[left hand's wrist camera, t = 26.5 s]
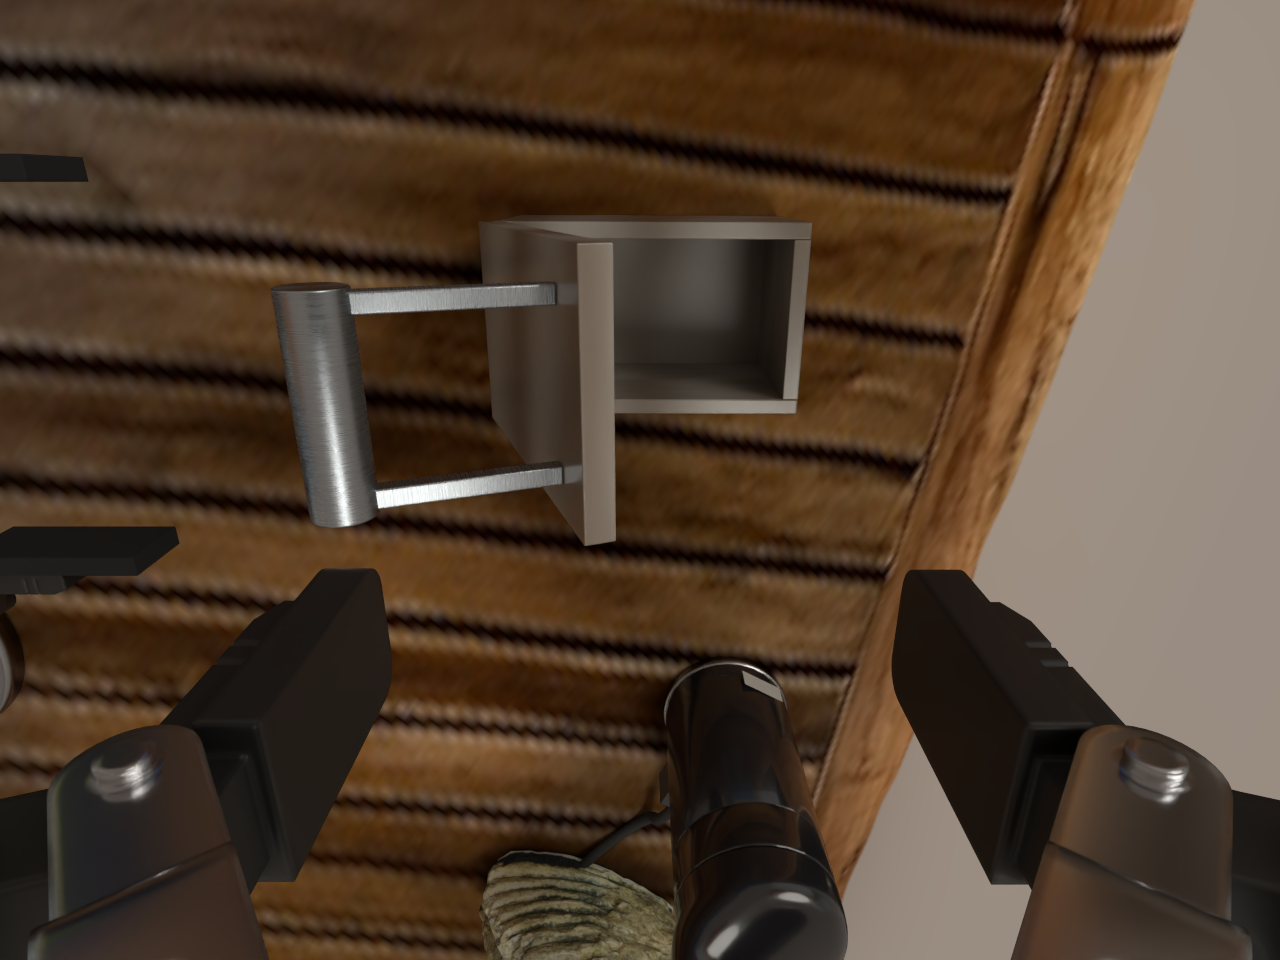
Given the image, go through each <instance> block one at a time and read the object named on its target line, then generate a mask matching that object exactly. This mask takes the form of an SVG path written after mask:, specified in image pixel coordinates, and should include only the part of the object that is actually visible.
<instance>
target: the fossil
mask: <svg viewBox="0 0 1280 960" xmlns="http://www.w3.org/2000/svg"><path fill="white" fill-rule="evenodd" d="M581 860H582V859H580V858H577V857H574V856H570V855H566V854H559V853H550V852H534V851H510V852H509V853H507V854H506V855H504V856H503V857H501V858H499V859H498V861H497V862H496V863H495V864H494V865H493V866H492V868H491V870H490V871H489V873H488V879H487V885H486V888H485V891H484V893H483V898H482V904H481V907H480V910H479V916H480V918H481V920H482V934H483V936H484V948H485V950H486V952H487V956H488V960H671V948H672V938H673V933H674V929H675V917H674V916H673V914H672V911H673V908H672V907H671V906H670V905H669V904H668V903H667V902H666V901H665V900H664V899H663V898H660V897H658V896H656V895H654V894H653V893H651V892H650V891H648V890H647V889H646V888H644V887H642V886H640V885H638V884H636V883H634V882H633V881H631V880H630V879H626V878H622V877H621V876H619V875H618V874H616V873H615V872H613V871H611V870H609V869H606V868H604V867H601V866H599V865H596V864H594V863H592V864H591V865H590V866H589V867H588V868H585V869H584V868H581V867H580V861H581Z"/></svg>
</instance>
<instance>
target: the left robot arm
mask: <svg viewBox="0 0 1280 960" xmlns="http://www.w3.org/2000/svg"><path fill="white" fill-rule="evenodd" d="M391 676H392V654H391V647H390V640H389V633H388V626H387V619H386V612H385V605H384V598H383V591H382V585H381V580H380V577H379V574H378V573H377V571H376V570H375V569H322V570H320V571H319V572H318V573H317V575H316V576H315V577H314V578H313V579H312V581H311V582H310V583H309V584H308V585H307V587H306V588H305V589H304V590H303V591H302V592H301V594H300V595H299V596H298V597H297V598H296V600H295V601H284V602H282V603H280V604H279V605H277V606H276V607H274V608H272V609H271V610H269V611H267V612H266V613H264V614H262V615H261V616H259V617H257V618H256V619H254V620H253V621H252V622H251V623H250V624H249V626H248V627H247V628H246V629H245V630H244V631H243V632H242V633H241V634H240V636H239V637H238V638H237V639H236V640H235V641H234V646H230V647H229V648H228V649H227V650H226V651H225V652H224V653H223V655H222V656H221V657H220V658H219V659H218V660H217V665H213V666H212V667H211V668H210V669H209V670H208V671H207V672H206V673H205V675H204V676H203V677H202V678H201V679H200V680H199V681H198V682H197V683H196V685H195V686H194V687H193V688H192V689H191V690H190V691H189V692H188V693H187V695H186V696H185V697H184V698H183V699H182V700H181V701H180V702H179V703H178V705H177V706H176V707H175V708H174V709H173V710H172V711H171V712H170V713H169V715H168V716H167V717H166V718H165V719H164V720H163V721H162V722H161V723H160V725H154V726H146V727H142V728H137V729H133V730H130V731H127V732H123V733H121V734H118V735H115V736H113V737H110V738H108V739H106V740H104V741H102V742H100V743H98V744H96V745H94V746H92V747H91V748H89V749H87V750H85V751H84V752H83V753H81V754H80V755H78V756H77V757H75V758H74V759H73V760H72V761H70V762H69V763H68V764H67V765H66V766H65V767H64V768H63V769H62V770H61V771H60V772H59V773H58V774H57V775H56V777H55V778H54V780H53V781H52V783H51V785H50V787H49V789H45V790H40V791H36V792H31V793H26V794H22V795H17V796H13V797H8V798H3V799H0V960H269V957H268V954H267V951H266V947H265V944H264V941H263V937H262V934H261V931H260V928H259V924H258V921H257V918H256V914H255V911H254V908H253V905H252V901H251V898H250V894H251V892H252V891H253V889H254V887H255V885H256V883H257V882H295V880H296V878H297V876H298V874H299V872H300V870H301V868H302V866H303V864H304V862H305V860H306V858H307V856H308V854H309V852H310V850H311V848H312V846H313V844H314V842H315V840H316V838H317V836H318V834H319V832H320V830H321V828H322V826H323V824H324V822H325V820H326V818H327V816H328V814H329V812H330V810H331V808H332V806H333V804H334V802H335V800H336V798H337V796H338V794H339V792H340V790H341V788H342V786H343V784H344V782H345V780H346V778H347V776H348V774H349V772H350V770H351V768H352V766H353V764H354V762H355V760H356V758H357V756H358V754H359V752H360V750H361V748H362V746H363V744H364V742H365V740H366V738H367V736H368V734H369V732H370V730H371V728H372V726H373V724H374V722H375V720H376V718H377V715H378V713H379V711H380V709H381V707H382V705H383V703H384V701H385V699H386V697H387V694H388V691H389V688H390V683H391ZM892 679H893V685H894V690H895V693H896V696H897V699H898V701H899V703H900V705H901V707H902V709H903V711H904V713H905V715H906V717H907V719H908V721H909V723H910V725H911V727H912V729H913V731H914V733H915V735H916V737H917V739H918V741H919V743H920V745H921V747H922V749H923V751H924V753H925V755H926V757H927V759H928V761H929V762H930V764H931V766H932V768H933V770H934V772H935V774H936V776H937V778H938V780H939V782H940V784H941V786H942V788H943V790H944V792H945V794H946V796H947V798H948V800H949V802H950V804H951V806H952V808H953V810H954V812H955V814H956V816H957V818H958V820H959V822H960V824H961V826H962V828H963V830H964V832H965V834H966V836H967V838H968V840H969V841H970V843H971V846H972V848H973V849H974V851H975V853H976V855H977V857H978V859H979V861H980V863H981V865H982V867H983V869H984V871H985V873H986V875H987V877H988V879H989V881H990V883H991V884H1029V886H1030V888H1031V890H1032V891H1031V895H1030V898H1029V901H1028V905H1027V908H1026V911H1025V915H1024V918H1023V921H1022V924H1021V928H1020V931H1019V934H1018V937H1017V941H1016V944H1015V947H1014V951H1013V954H1012V957H1011V960H1280V800H1276V799H1271V798H1266V797H1262V796H1257V795H1253V794H1248V793H1243V792H1239V791H1235V790H1232V789H1231V787H1230V785H1229V783H1228V781H1227V780H1226V778H1225V777H1224V775H1223V774H1222V773H1221V772H1220V771H1219V770H1218V769H1217V768H1216V767H1215V766H1214V765H1213V764H1212V763H1211V762H1210V761H1208V760H1207V759H1206V758H1205V757H1203V756H1202V755H1200V754H1199V753H1197V752H1196V751H1195V750H1193V749H1191V748H1189V747H1188V746H1186V745H1184V744H1182V743H1180V742H1178V741H1176V740H1174V739H1172V738H1170V737H1167V736H1164V735H1162V734H1159V733H1156V732H1153V731H1150V730H1147V729H1143V728H1138V727H1134V726H1126V725H1125V724H1124V723H1123V722H1122V721H1121V720H1120V719H1119V718H1118V717H1117V715H1116V714H1115V713H1114V712H1113V711H1112V710H1111V709H1110V708H1109V707H1108V705H1107V704H1106V703H1105V702H1104V701H1103V700H1102V699H1101V698H1100V697H1099V696H1098V694H1097V693H1096V692H1095V691H1094V690H1093V689H1092V688H1091V687H1090V686H1089V685H1088V683H1087V682H1086V681H1085V680H1084V679H1083V678H1082V677H1081V676H1080V675H1079V673H1078V672H1077V671H1076V670H1075V669H1074V668H1073V667H1069V666H1068V661H1067V660H1066V659H1065V658H1064V657H1063V656H1062V655H1061V654H1060V653H1059V651H1058V650H1057V649H1056V648H1052V647H1051V643H1050V642H1049V640H1048V639H1047V638H1046V637H1045V636H1044V635H1043V634H1042V633H1041V632H1040V631H1039V629H1038V628H1037V627H1036V626H1035V625H1034V624H1033V623H1032V622H1031V621H1030V620H1028V619H1027V618H1025V617H1023V616H1022V615H1020V614H1018V613H1017V612H1015V611H1013V610H1012V609H1010V608H1009V607H1007V606H1005V605H1004V604H1002V603H1000V602H990V601H989V600H988V599H987V598H986V597H985V595H984V594H983V593H982V592H981V591H980V589H979V588H978V587H977V586H976V585H975V584H974V582H973V581H972V580H971V579H970V578H969V577H968V575H967V574H966V573H965V572H964V571H962V570H910V571H908V572H907V574H906V576H905V578H904V581H903V586H902V592H901V599H900V606H899V613H898V620H897V626H896V633H895V640H894V647H893V654H892ZM664 720H665V725H666V737H667V764H666V765H665V767H664V768H663V769H662V771H661V772H660V774H659V775H660V803H661V804H663V805H666V806H667V807H666V808H665V809H664V810H663V811H661V812H660V813H658V814H657V813H656V812H648V813H646V814H644V815H642V816H640V817H638V818H636V819H634V820H633V821H631V822H630V823H628V824H626V825H625V826H623V827H622V828H620V829H619V830H617V831H616V832H614V833H613V834H612V835H610V836H609V837H608V838H606V839H605V840H604V841H603V842H601V843H600V844H599V845H598V846H597V847H595V848H594V849H593V850H592V851H591V852H590V853H589V854H588V855H587V856H585V857H584V858H583V859H582V860H581V861H580V867H581V868H584V869H585V868H588V867H589V866H590V865H591V864H592V863H594V862H595V861H596V860H597V859H598V858H599V857H600V856H602V855H603V854H604V853H605V852H606V851H608V850H609V849H610V848H611V847H613V846H614V845H615V844H617V843H618V842H619V841H621V840H622V839H624V838H625V837H627V836H628V835H630V834H631V833H633V832H635V831H636V830H638V829H640V828H642V827H644V826H646V825H648V824H650V823H653V824H655V825H661V824H663V823H664V822H666V821H667V820H669V819H670V824H671V844H672V862H673V880H674V901H675V929H674V933H673V938H672V948H671V960H844V957H845V953H846V949H847V941H848V931H847V923H846V918H845V914H844V910H843V906H842V903H841V899H840V896H839V892H838V889H837V886H836V883H835V879H834V876H833V872H832V869H831V865H830V862H829V858H828V854H827V851H826V848H825V844H824V841H823V838H822V834H821V830H820V827H819V823H818V820H817V816H816V812H815V809H814V805H813V802H812V798H811V795H810V791H809V787H808V784H807V780H806V777H805V773H804V770H803V766H802V762H801V759H800V755H799V752H798V748H797V745H796V741H795V737H794V734H793V730H792V726H791V723H790V719H789V715H788V712H787V705H786V700H785V697H784V693H783V690H782V688H781V686H780V684H779V682H778V681H777V680H776V678H775V677H774V676H773V675H772V674H771V673H770V672H769V671H768V670H766V669H765V668H763V667H762V666H760V665H758V664H756V663H754V662H752V661H749V660H745V659H741V658H734V657H720V658H713V659H709V660H705V661H702V662H700V663H697V664H695V665H693V666H691V667H690V668H688V669H687V670H685V671H684V672H683V673H681V674H680V675H679V676H678V677H677V678H676V679H675V681H674V682H673V683H672V685H671V686H670V688H669V690H668V692H667V694H666V697H665V702H664Z"/></svg>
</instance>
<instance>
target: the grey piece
mask: <svg viewBox="0 0 1280 960" xmlns="http://www.w3.org/2000/svg"><path fill="white" fill-rule="evenodd" d="M479 235H480V249H481V263H482V277H483V284H465V285H439V286H414V287H388V288H362V289H350V286H349V285H348V284H345V283H335V282H310V283H294V284H285V285H279V286H275V287H272V288H271V295H272V301H273V307H274V313H275V318H276V324H277V330H278V336H279V342H280V347H281V353H282V359H283V365H284V370H285V376H286V382H287V388H288V393H289V399H290V405H291V411H292V416H293V422H294V428H295V434H296V440H297V445H298V451H299V457H300V463H301V468H302V474H303V480H304V486H305V491H306V497H307V503H308V509H309V514H310V520H311V521H312V523H314V524H315V525H317V526H321V527H327V528H342V527H349V526H354V525H358V524H362V523H365V522H367V521H369V520H371V519H373V518H374V517H376V516H377V515H378V514H379V512H380V509H384V508H392V507H399V506H406V505H414V504H421V503H428V502H436V501H443V500H450V499H458V498H465V497H472V496H480V495H487V494H495V493H502V492H509V491H517V490H524V489H531V488H539V487H543V489H544V490H545V491H546V493H547V494H548V495H549V497H550V498H551V500H552V501H553V502H554V504H555V505H556V507H557V508H558V509H559V511H560V512H561V514H562V515H563V516H564V518H565V519H566V521H567V522H568V523H569V525H570V526H571V528H572V529H573V530H574V532H575V533H576V534H577V536H578V537H579V539H580V540H581V541H582V543H583V544H584V546H588V545H594V544H600V543H606V542H612V541H615V540H616V514H615V403H614V293H613V243H612V242H608V241H603V240H598V239H592V238H587V237H582V236H576V235H571V234H566V233H560V232H555V231H550V230H544V229H539V228H534V227H528V226H523V225H518V224H512V223H507V222H502V221H492V222H479ZM472 309H485V319H486V333H487V347H488V361H489V375H490V389H491V403H492V417H493V419H494V420H495V422H496V423H497V424H498V426H499V427H500V429H501V430H502V431H503V433H504V434H505V436H506V437H507V438H508V440H509V441H510V443H511V444H512V445H513V447H514V448H515V450H516V451H517V452H518V454H519V455H520V456H521V458H522V459H523V461H524V462H525V463H526V465H518V466H510V467H502V468H494V469H486V470H478V471H469V472H461V473H453V474H445V475H437V476H429V477H421V478H413V479H405V480H397V481H389V482H381V483H377V481H376V474H375V467H374V459H373V452H372V444H371V437H370V430H369V422H368V415H367V407H366V400H365V393H364V385H363V378H362V370H361V363H360V356H359V348H358V341H357V333H356V326H355V319H354V315H373V314H393V313H413V312H433V311H453V310H472Z"/></svg>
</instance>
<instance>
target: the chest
mask: <svg viewBox="0 0 1280 960" xmlns="http://www.w3.org/2000/svg"><path fill="white" fill-rule="evenodd" d="M497 221H502V222H507V223H512V224H518V225H523V226H528V227H534V228H539V229H544V230H550V231H555V232H560V233H566V234H571V235H576V236H582V237H587V238H592V239H598V240H603V241H608V242H612V243H613V293H614V403H615V414H796V412H797V399H798V390H799V378H800V366H801V354H802V342H803V330H804V318H805V306H806V294H807V282H808V270H809V258H810V246H811V240H810V239H811V232H812V223H811V222H807V221H802V220H796V219H791V218H785V217H780V216H664V215H520V216H516V217H511V218H506V219H501V220H497Z"/></svg>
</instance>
